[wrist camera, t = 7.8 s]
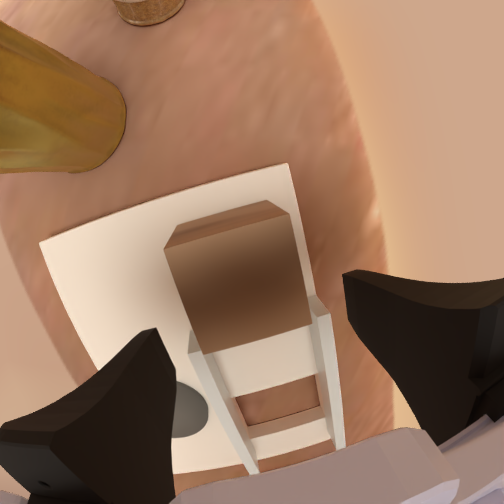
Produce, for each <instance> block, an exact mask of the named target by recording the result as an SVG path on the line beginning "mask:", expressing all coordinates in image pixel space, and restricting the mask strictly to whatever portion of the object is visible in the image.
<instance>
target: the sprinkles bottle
mask: <svg viewBox="0 0 504 504" xmlns="http://www.w3.org/2000/svg"><path fill="white" fill-rule="evenodd" d="M184 1H185V0H113V2H114V3H115V4H116V7H117V11H118V14H119V15H120V17H121V18H122V19H123V20H124V21H126V22H128V23H131V24H133V25H140V26H143V25H151V24H156V23H159V22H163V21H165V20H166V19H168V18H169V17H171V16H173V15H174V14H175V13H176V12H178V11H179V9H180V8H181V7H182V6H183V4H184Z"/></svg>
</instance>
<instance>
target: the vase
mask: <svg viewBox="0 0 504 504" xmlns="http://www.w3.org/2000/svg"><path fill="white" fill-rule="evenodd" d="M125 120H126V107H125V103H124V100H123V98H122V95H121V93H120V91H119V90H118V89H117V88H116V87H115V86H114V85H113V84H112V83H111V82H109V81H108V80H106V79H104V78H103V77H98V76H96V75H94V74H93V73H92V72H90V71H89V70H87V69H86V68H84V67H83V66H81V65H79V64H78V63H76V62H74V61H72V60H71V59H69V58H68V57H66V56H64V55H63V54H61V53H59V52H58V51H56V50H54V49H52V48H50V47H49V46H47V45H45V44H43V43H42V42H40V41H38V40H36V39H33V38H31V37H29V36H27V35H26V34H24V33H22V32H20V31H18V30H16V29H14V28H13V27H11V26H9V25H7V24H6V23H4V22H3V21H1V20H0V174H2V173H23V172H68V173H80V172H85V171H89V170H91V169H94V168H96V167H97V166H99V165H100V164H102V163H103V162H104V161H106V160H107V159H108V158H109V157H110V156H111V154H112V153H113V152H114V150H115V149H116V147H117V145H118V144H119V142H120V140H121V138H122V135H123V132H124V127H125Z"/></svg>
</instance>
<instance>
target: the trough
mask: <svg viewBox="0 0 504 504" xmlns="http://www.w3.org/2000/svg"><path fill="white" fill-rule="evenodd" d="M308 303H309V308H310V313H311V318H312V324H310V325H309V327H310V332H311V338H312V343H313V348H314V354H315V359H316V365H317V370H318V376H319V382H320V387H321V393H322V399H323V405H324V411H325V418H326V424H327V430H328V433H329V435H330V437H331V440H332V442H333V444H334V446H335V449H336V451H337V450H339V449H342V448H345V447H346V444H345V431H344V420H343V409H342V399H341V389H340V380H339V372H338V364H337V356H336V348H335V341H334V334H333V327H332V320H331V313H330V312H329V311H328V309H327V308H326V307H325V305H324V304H323V303H322V302H321V300H320V299H319V298H318V297H317V295H314V296H311V297H308ZM187 354H188V357H189V359H190V361H191V363H192V365H193V367H194V370H195V372H196V374H197V376H198V378H199V380H200V382H201V384H202V387H203V389H204V391H205V393H206V395H207V397H208V399H209V401H210V403H211V405H212V407H213V409H214V411H215V413H216V415H217V417H218V418H219V420H220V422H221V424H222V426H223V428H224V430H225V432H226V434H227V435H228V437H229V439H230V441H231V443H232V445H233V446H234V448H235V450H236V452H237V453H238V455H239V457H240V459H241V460H242V462H243V464H244V466H245V467H246V469H247V471H248V472H249V474H250V475H253V474H258V473H260V471H259V466H258V461H257V456H256V451H255V449H254V447H253V445H252V443H251V441H250V439H249V436H248V434H247V432H246V430H245V428H244V426H243V424H242V421H241V419H240V417H239V415H238V413H237V410H236V408H235V406H234V404H233V401H232V399H231V397H230V395H229V392H228V390H227V388H226V385H225V383H224V381H223V378H222V376H221V374H220V371H219V369H218V366H217V364H216V362H215V359H214V357H213V354H212V353H209V354H205V355H203V353H202V351H201V349H200V346H199V344H198V341H197V339H196V336H195V334H194V331H193V330H192V331H190V333H189V343H188V353H187Z"/></svg>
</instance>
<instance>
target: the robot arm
mask: <svg viewBox="0 0 504 504" xmlns="http://www.w3.org/2000/svg"><path fill="white" fill-rule="evenodd" d="M342 277H343V284H344V292H345V299H346V307H347V315H348V320H349V322H350V324H351V326H352V327H353V329H354V331H355V332H356V334H357V335H358V337H359V338H360V340H361V341H362V342H363V343H364V345H365V346H366V347H367V348H368V349H369V351H370V352H371V353H372V354H373V355H374V357H375V358H376V359H377V360H378V361H379V363H380V364H381V365H382V366H383V367H384V368H385V370H386V371H387V372H388V373H389V375H390V376H391V377H392V379H393V380H394V381H395V383H396V385H397V386H398V388H399V389H400V391H401V392H402V394H403V396H404V397H405V399H406V401H407V403H408V404H409V406H410V408H411V410H412V412H413V413H414V415H415V417H416V419H417V421H418V423H419V425H420V427H421V429H422V430H421V429H414V428H407V427H406V428H398V429H395V430H392V431H389V432H385V433H382V434H379V435H375V436H372V437H369V438H367V439H365V440H362V441H360V442H357V443H355V444H352V445H350V446H347V447H345V448H342V449H339V450H337V451H334V452H331V453H328V454H325V455H322V456H319V457H316V458H313V459H310V460H307V461H303V462H300V463H297V464H293V465H290V466H286V467H282V468H278V469H275V470H271V471H266V472H262V473H258V474H253V475H248V476H243V477H238V478H233V479H227V480H221V481H215V482H211V483H208V484H204V485H200V486H197V487H193V488H189V489H186V490H184V491H182V492H181V493H180V494H179V495H178V496H177V497H176V496H175V489H174V480H173V469H172V450H171V443H172V429H173V420H174V411H175V402H176V393H177V380H176V368H175V366H174V364H173V362H172V360H171V358H170V356H169V354H168V352H167V350H166V347H165V345H164V343H163V341H162V339H161V337H160V334H159V332H158V330H157V328H156V327H155V328H151V329H147V330H143V331H141V332H140V333H138V334H137V335H136V336H135V337H134V338H132V339H131V340H130V341H129V342H128V343H127V344H126V345H125V346H124V347H123V348H122V349H121V350H120V351H119V352H118V353H117V354H116V355H115V356H114V357H113V358H112V359H111V360H110V361H109V362H108V363H107V364H106V365H104V366H103V367H102V368H101V369H100V370H99V371H98V372H97V373H96V374H94V375H93V376H92V377H91V378H90V379H88V380H87V381H86V382H84V383H83V384H82V385H80V386H79V387H78V388H76V389H75V390H74V391H72V392H70V393H69V394H67V395H66V396H64V397H62V398H61V399H59V400H57V401H56V402H54V403H52V404H50V405H48V406H46V407H44V408H42V409H40V410H38V411H35V412H33V413H31V414H29V415H26V416H23V417H20V418H17V419H14V420H11V421H8V422H5V423H4V424H3V425H2V426H1V428H0V465H1V466H2V467H3V468H4V469H5V470H6V471H7V472H8V473H9V474H10V475H11V476H12V477H13V478H14V479H15V480H16V481H17V482H18V483H20V484H21V485H22V486H23V487H24V488H25V489H26V490H27V491H29V492H30V493H31V494H30V497H29V500H28V499H26V498H24V497H22V496H19V495H17V494H13V493H10V492H6V491H3V490H1V491H0V504H504V278H502V279H497V280H490V281H483V282H473V283H435V282H424V281H417V280H410V279H405V278H399V277H394V276H390V275H385V274H381V273H376V272H371V271H366V270H353V271H350V272H347V273H344V274H342Z"/></svg>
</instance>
